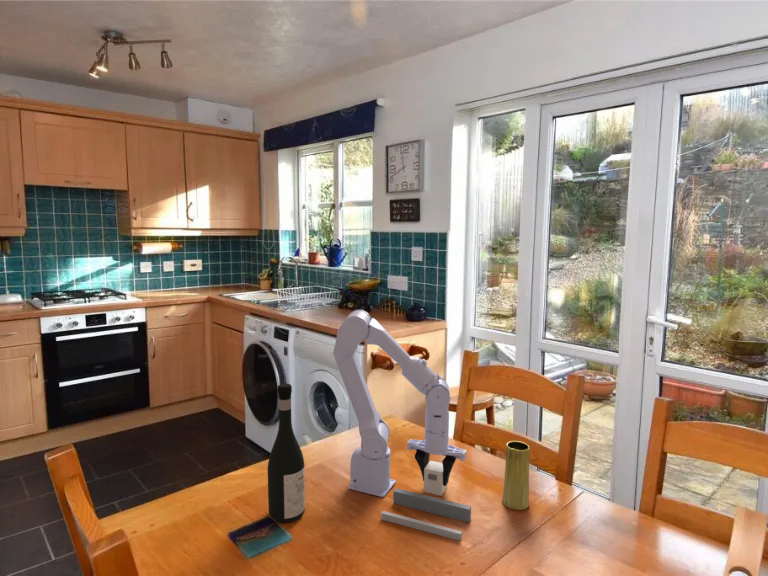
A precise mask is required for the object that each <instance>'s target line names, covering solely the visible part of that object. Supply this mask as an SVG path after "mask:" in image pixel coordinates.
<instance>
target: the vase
mask: <svg viewBox="0 0 768 576" xmlns="http://www.w3.org/2000/svg"><path fill="white" fill-rule="evenodd" d="M505 445H506V446H505V447H506V450H505V451H506V452H505V467H504V482H503V490H502V491H503V492H502V500H501V501H502V505H504V506H505V507H506V508H508V509H511V510H514V511H524V510H526V509H527V508H529V506H530V459H531V458H530V456H531V455H530V454H531V447H530V445H529V444H528V443H526V442H524V441H520V440H509V441H508V442H507V443H506V444H505Z"/></svg>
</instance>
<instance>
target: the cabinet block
mask: <svg viewBox="0 0 768 576" xmlns="http://www.w3.org/2000/svg"><path fill="white" fill-rule="evenodd" d="M447 488H448V484H447V485H446V486H443V464H442V462H439V461H435V460H434V461H433V460H429V463H428V464H427V466H426V467H425V468H424V481H423V492H424V493H428V494H431V495H432V494H433V495H436V496H440V497H441V496H443V494H444V492H445V491H446V490H447Z"/></svg>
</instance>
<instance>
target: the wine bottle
mask: <svg viewBox="0 0 768 576" xmlns="http://www.w3.org/2000/svg"><path fill="white" fill-rule="evenodd" d="M276 389H277V395H278V431H277V434H276V438H275V440H274V443H273V446H272V448H271V451H270V454H269V457H268V463H267V489H268V490H267V497H268V503H267V504H268V514H269V516H270V519H272V520H273V521H274V522H277V523H285V524H287V523H292V522H295V521H297V520H299V519H300V518H301V517H302V516H303V515H304V513H305V511H306V489H305V488H306V486H305V485H306V481H305V480H306V479H305V478H306V477H305V476H306V475H305V468H306V467H305V459H304V455H303V452H302V449H301V447H300V445H299V442H298V440H297V437H296V435H295V432H294V429H293V424H292V392H293V386H292V385H291V384H290V383H281V384H278V386H277V388H276Z"/></svg>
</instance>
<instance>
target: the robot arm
mask: <svg viewBox="0 0 768 576" xmlns="http://www.w3.org/2000/svg"><path fill="white" fill-rule="evenodd" d="M336 333H337V334H336V339H335V343H334V348H333V351H332V354H333V357H334V360H335V363H336V366H337V369H338V371H339V373H340V374H339V375H340V376H341V379H342V381H343V383H344V386H345V390H346V392H347V395H348V397H349V400H350V403H351V405H352V408H353V411H354V414H355V417H356V418H357V422H358V431H359V433H358V434H359V435H360V440H361V442H360V447H357V448H355V449H354V451H353V452H352V455H351V457H350V467H349V468H350V472H349V474H350V475H349V478H350V485H349V486H348V489H349V490H353V491H357V492H361V493H365V494H368V495H373V496H378V497H381V498H384V497H386V495H387V494H388V493H389V492H390V490H391V489H392V487H393V486H394V485H395V484H396V483H397V480H396V479H392V478H391V449H390V447H389V446H388V441H389V436H390V433H391V432H390V427H389V425H388V423H386V422H385V420H383V419H382V416H381V413H380V412H378V411H377V408H376V406H375V404H374V401H373V398H372V395H371V393H370V389H369V387H368V384H367V381H366V379H365V376H364V374H363V373H364V372H363V371H362V367H361V366H360V362H359V360H358V357H357V355H356V350H357V348H358V346H359V344H361V343H362V342H363V341H364V340H365V342H364V344H365V345H374V346H375V345H376V346H377V347H378V348H380V349H382V351H383V352H384V353H386V354H387V355H388V356H389V357H390V358H391V359H392V360H393V361H395V362H396V363H397V365H399V366H400V367H401V375H402V376H403V377H404V378H405V379H406V380H407V381H408V382H409V383H410V384H411V385H412V386H413V387H414V389H416V390H417V391H418V392H419V393H420V394H423V395H424V396H425V397H424V399H425V402H426V407H425V410H424V412H425V413H424V417H425V418H424V440H422V439H412V438H411V439H409V440H408V441H407V442H406V443H407V444H406V445H407V446H406V450H408V451H412V450H414V451H415V454H414V459H415V461H416V462H417V465H418V466H419V470H420V472H421V477H422V481H423V482H424V468H425V467H426V466H427V464H428V463H429V462H430V455H436V456H444V458H443V459H442V461H441V463H442V464H443V486H446V485H447V486H448V483H449V479H450V475H451V472H452V469H453V467H454V464H455V462H456V460H457V459H459V460H460V461H461V462H462V461H463V462H464V461H466V459H467V450H466V449H463V448H460V447H457V446H454V445H453V444H449V428H450V426H449V425H450V410H449V409H450V403H451V399H452V397H451V393H450V387H449V385H448V383H447V381H446V379H445V378H443V377H442V376H441V375H440V374H439V373H437V374H436V373H435V372H434V371H433V370H432V368H430V367H429V366H428V362H427V360H426V359H425V358H422V359H421V358H420V357H419V356H412V355H410V354H409V353H408V352H407V351H406V350H405V349H404V348H403V347H402V346H401V345H400V344H399V342H398V341H396V339H395V338H394V337H393V336H392V335H391V334H390V333H389V332H388V331H387V330H386V328H385V327H384V326H382V325H381V323H379V322H378V320H377V319H375V318H374V317H371V315H370V314H369V313H368V311H365V310H364V309H355V310H353V311H351V312H350V313H349V314H348V316H346V318H345V319H344V320H343V321H342V323H341V325H340V326H339V327H338V329H337V332H336Z"/></svg>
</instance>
